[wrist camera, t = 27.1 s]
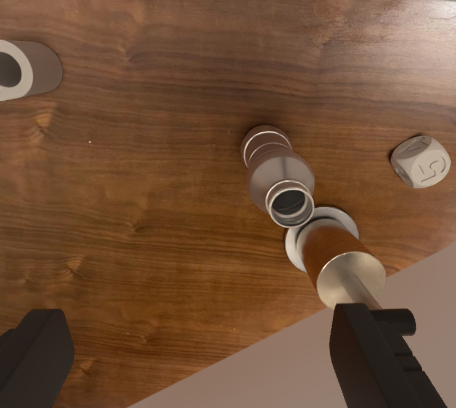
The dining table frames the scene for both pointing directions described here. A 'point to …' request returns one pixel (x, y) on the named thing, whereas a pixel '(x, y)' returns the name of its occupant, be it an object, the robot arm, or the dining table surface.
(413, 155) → the die
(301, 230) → the metal plunger pump
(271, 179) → the plastic bottle
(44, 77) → the grey holder with letters
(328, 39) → the dining table surface
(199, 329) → the dining table surface
